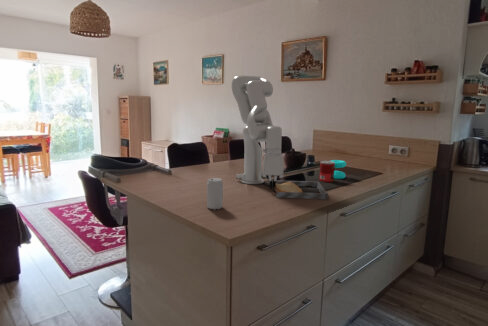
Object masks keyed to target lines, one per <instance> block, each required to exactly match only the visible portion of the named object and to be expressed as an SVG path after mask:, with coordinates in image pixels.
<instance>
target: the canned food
mask: <svg viewBox="0 0 488 326" xmlns="http://www.w3.org/2000/svg"><path fill="white" fill-rule="evenodd" d="M319 163H320V164H319V181H320V182H322V183H333V182H334V180H335V179H334V171H335V169H336V168H335V162H333V161H331V160H321V161H320V162H319Z"/></svg>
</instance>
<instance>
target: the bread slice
mask: <svg viewBox="0 0 488 326" xmlns="http://www.w3.org/2000/svg"><path fill="white" fill-rule="evenodd" d="M289 181H290V182H286V183H282V184H277V183H276V187H274V189H273V191H274V192H275V193H277V192H300V193H304V191H303V190H302V188H300V187H301V186H297V185H295V184H294V183H293V182H291V181H292V180H289Z"/></svg>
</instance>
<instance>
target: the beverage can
mask: <svg viewBox="0 0 488 326" xmlns="http://www.w3.org/2000/svg"><path fill="white" fill-rule="evenodd" d="M223 193H224V182H223V179H222V178H219V177H212V178H208V179H207V182H206V200H207V201H206V207H207V208H208V210H212V209H213V211H215V210H216V209H217V210H221V209H222V208H223V206H224V205H223V204H224V203H223V200H224V199H223V195H224V194H223Z"/></svg>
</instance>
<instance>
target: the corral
mask: <svg viewBox="0 0 488 326" xmlns="http://www.w3.org/2000/svg"><path fill="white" fill-rule="evenodd" d="M290 181H291V182H293V183H294V184H295V185H297V186H298V187H306V186H312V188H314V187H315V188H317V190H318V189H319V190H318V191H319V192H303V193H300V192H276V193H275V194H276V198H277V199H279V198H280V199H303V200H304V199H305V200H307V199H309V200H313V199H314V200H328V198H329V197H328V196H329V193H327V191H326V190H325V188H324V187H323V185H322V184H321V182H319V181H311V180H309V181H307V180H305V181H304V180H303V181H302V180H300V181H299V180H276V183H277V184H282V183H286V182H290Z"/></svg>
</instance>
